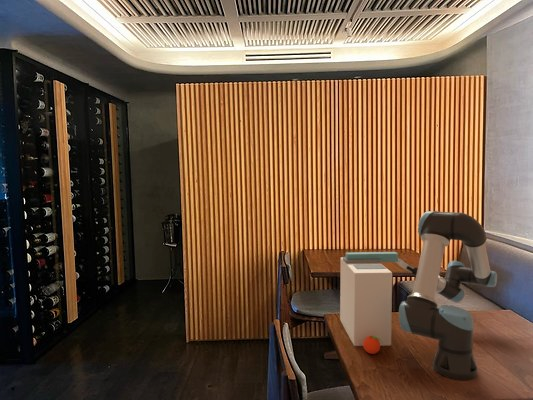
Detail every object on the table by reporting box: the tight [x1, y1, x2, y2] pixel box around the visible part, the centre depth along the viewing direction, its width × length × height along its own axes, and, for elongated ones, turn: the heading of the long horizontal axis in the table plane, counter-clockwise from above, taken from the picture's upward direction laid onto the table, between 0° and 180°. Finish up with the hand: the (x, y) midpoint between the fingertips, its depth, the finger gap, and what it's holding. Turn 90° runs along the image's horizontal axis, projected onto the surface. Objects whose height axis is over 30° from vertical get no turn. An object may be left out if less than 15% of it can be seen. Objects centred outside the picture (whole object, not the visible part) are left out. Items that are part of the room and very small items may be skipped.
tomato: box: [362, 336, 381, 355], centre depth 167 cm, size 8×7×7 cm
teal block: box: [345, 251, 399, 263], centre depth 192 cm, size 24×4×4 cm, turn 91°
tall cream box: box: [339, 256, 393, 347], centre depth 188 cm, size 16×30×34 cm, turn 1°
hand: (395, 259), depth 193 cm, fingers open, 13 cm apart
